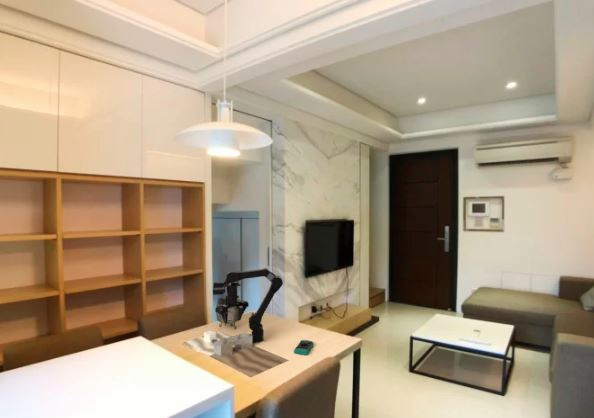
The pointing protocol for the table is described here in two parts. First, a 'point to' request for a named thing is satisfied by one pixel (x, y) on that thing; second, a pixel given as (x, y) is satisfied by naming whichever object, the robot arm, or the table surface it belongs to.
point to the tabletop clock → (229, 315)
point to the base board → (239, 356)
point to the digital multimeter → (303, 347)
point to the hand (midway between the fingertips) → (232, 322)
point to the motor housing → (226, 345)
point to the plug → (210, 336)
